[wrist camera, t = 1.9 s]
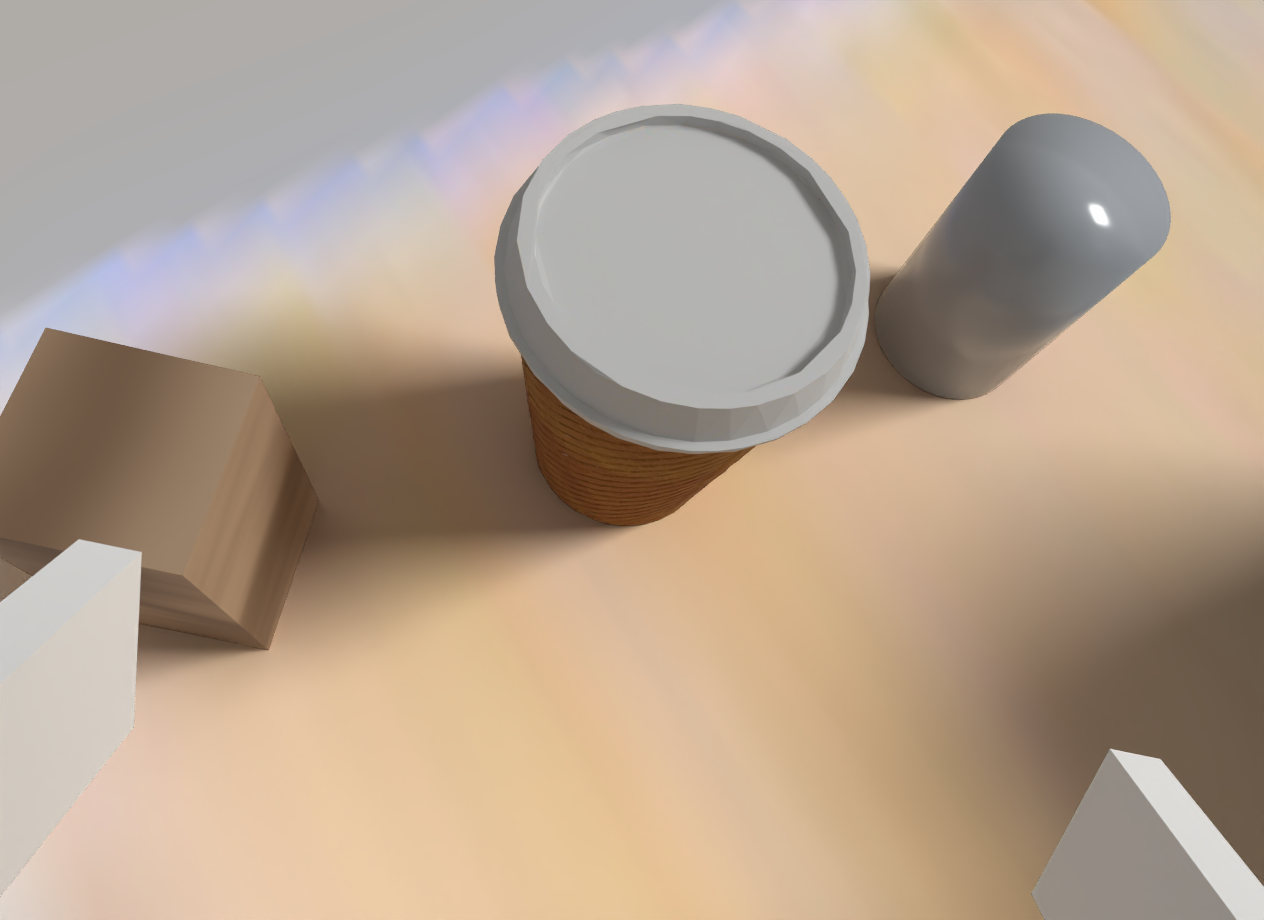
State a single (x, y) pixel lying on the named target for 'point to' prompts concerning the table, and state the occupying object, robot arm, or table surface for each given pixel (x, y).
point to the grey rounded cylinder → (1021, 254)
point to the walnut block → (157, 481)
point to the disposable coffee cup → (675, 303)
